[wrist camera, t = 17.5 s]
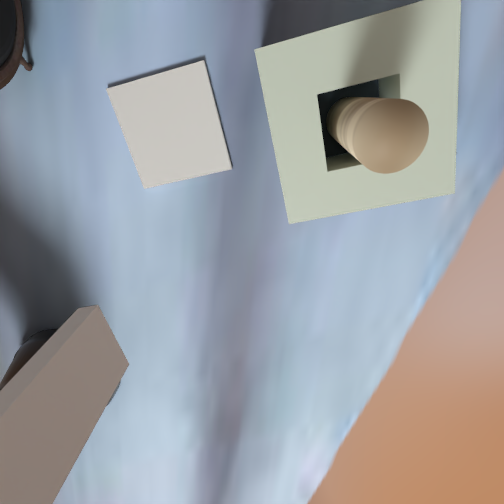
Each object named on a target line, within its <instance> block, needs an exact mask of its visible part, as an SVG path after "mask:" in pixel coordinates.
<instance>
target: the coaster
mask: <svg viewBox="0 0 504 504" xmlns="http://www.w3.org/2000/svg"><path fill="white" fill-rule="evenodd" d="M106 90H107V93H108V95H109V98H110V101H111V103H112V106H113V108H114V111H115V114H116V116H117V119H118V121H119V124H120V127H121V129H122V132H123V135H124V137H125V140H126V142H127V145H128V148H129V150H130V153H131V155H132V158H133V161H134V163H135V166H136V168H137V171H138V174H139V176H140V179H141V182H142V184H143V187H144V189H145V188H150V187H154V186H159V185H163V184H168V183H172V182H177V181H181V180H185V179H190V178H194V177H199V176H203V175H208V174H212V173H217V172H221V171H226V170H230V169H232V165H231V161H230V157H229V153H228V149H227V145H226V141H225V138H224V134H223V130H222V126H221V122H220V118H219V114H218V110H217V107H216V103H215V99H214V95H213V91H212V87H211V83H210V79H209V76H208V72H207V68H206V64H205V61H204V60H203V61H199V62H196V63H192V64H189V65H186V66H182V67H179V68H175V69H172V70H169V71H165V72H162V73H158V74H155V75H152V76H148V77H145V78H141V79H138V80H135V81H131V82H128V83H124V84H121V85H118V86H114V87H111V88H107V89H106Z"/></svg>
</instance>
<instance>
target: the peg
mask: <svg viewBox="0 0 504 504" xmlns="http://www.w3.org/2000/svg"><path fill="white" fill-rule="evenodd" d="M326 126H327V130H328V132H329V134H330V135H331V136H332V137H333V138H334V139H335V140H336V141H337V142H338V143H339V144H340V145H341V146H343V147H344V148H345V149H346V150H347V151H348V152H349V153H350V154H351V155H353V156H354V157H355V158H356V159H357V160H358V161H359V162H360V163H361V164H363V165H364V166H365V167H366V168H367V169H369V170H371V171H373V172H376V173H382V174H389V173H395V172H398V171H401V170H403V169H405V168H407V167H408V166H410V165H411V164H412V163H413V162H414V161H415V160H416V159H417V158H418V157H419V156H420V155H421V153H422V152H423V150H424V148H425V146H426V143H427V140H428V135H429V124H428V120H427V117H426V115H425V113H424V111H423V110H422V109H421V108H420V107H419V106H418V105H417V104H415V103H414V102H411V101H409V100H405V99H395V98H370V97H345V98H342V99H340V100H338V101H337V102H335V103H334V104H333V105H332V107H331V108H330V110H329V112H328V114H327V118H326Z"/></svg>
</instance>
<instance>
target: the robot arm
mask: <svg viewBox="0 0 504 504" xmlns="http://www.w3.org/2000/svg"><path fill="white" fill-rule="evenodd" d="M128 366H129V363H128V361H127V359H126V357H125V355H124V353H123V351H122V349H121V348H120V346H119V344H118V342H117V340H116V338H115V336H114V334H113V332H112V330H111V329H110V327H109V325H108V323H107V321H106V319H105V317H104V315H103V313H102V311H101V310H100V308H99V306H98V305H93V306H88V307H82V308H78V309H77V310H76V311H75V312H74V313H73V314H72V315H71V316H70V317H69V319H68V320H67V321H66V322H65V323H64V324H63V325H62V326H61V327H60V328H59V329H58V330H56V329H54V330H45V331H41V332H39V333H36V334H35V335H33V336H32V337H31V338H29V339H28V340H27V341H26V342H25V343H24V344H23V345H22V346H21V347H20V348H19V350H18V351H17V352H16V354H15V356H14V359H13V361H12V363H11V365H10V366H9V368H8V370H7V372H6V374H5V376H4V378H3V380H2V381H1V383H0V504H52V503H53V502H54V500H55V498H56V496H57V494H58V493H59V491H60V489H61V487H62V485H63V483H64V482H65V480H66V478H67V476H68V474H69V473H70V471H71V469H72V467H73V465H74V463H75V462H76V460H77V458H78V456H79V454H80V453H81V451H82V449H83V447H84V445H85V444H86V442H87V440H88V438H89V436H90V434H91V433H92V431H93V429H94V427H95V425H96V424H97V422H98V420H99V418H100V416H101V415H102V413H103V411H104V409H105V407H106V406H107V405H108V404H109V403H110V401H111V400H112V398H113V397H114V395H115V393H116V391H117V390H118V388H119V385H120V380H121V378H122V376H123V375H124V373H125V371H126V369H127V367H128Z"/></svg>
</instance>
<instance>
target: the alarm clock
mask: <svg viewBox="0 0 504 504" xmlns="http://www.w3.org/2000/svg"><path fill="white" fill-rule="evenodd" d="M23 47H24V20H23V12H22V6H21V1H20V0H0V89H2V88H3V87H4V86H6V85H7V84H8V83H9V82H10V81H11V79H12V78H13V77H14V75H15V73H16V71H17V69H18V67H19V65H20V64H22V65H23V66H24V68H25V69H26V70H28V71H31V70H32V68H33V67H32V65H31V64H30V63H27V62H26V60H25V59H24V58H23V57H22V53H23Z"/></svg>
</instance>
